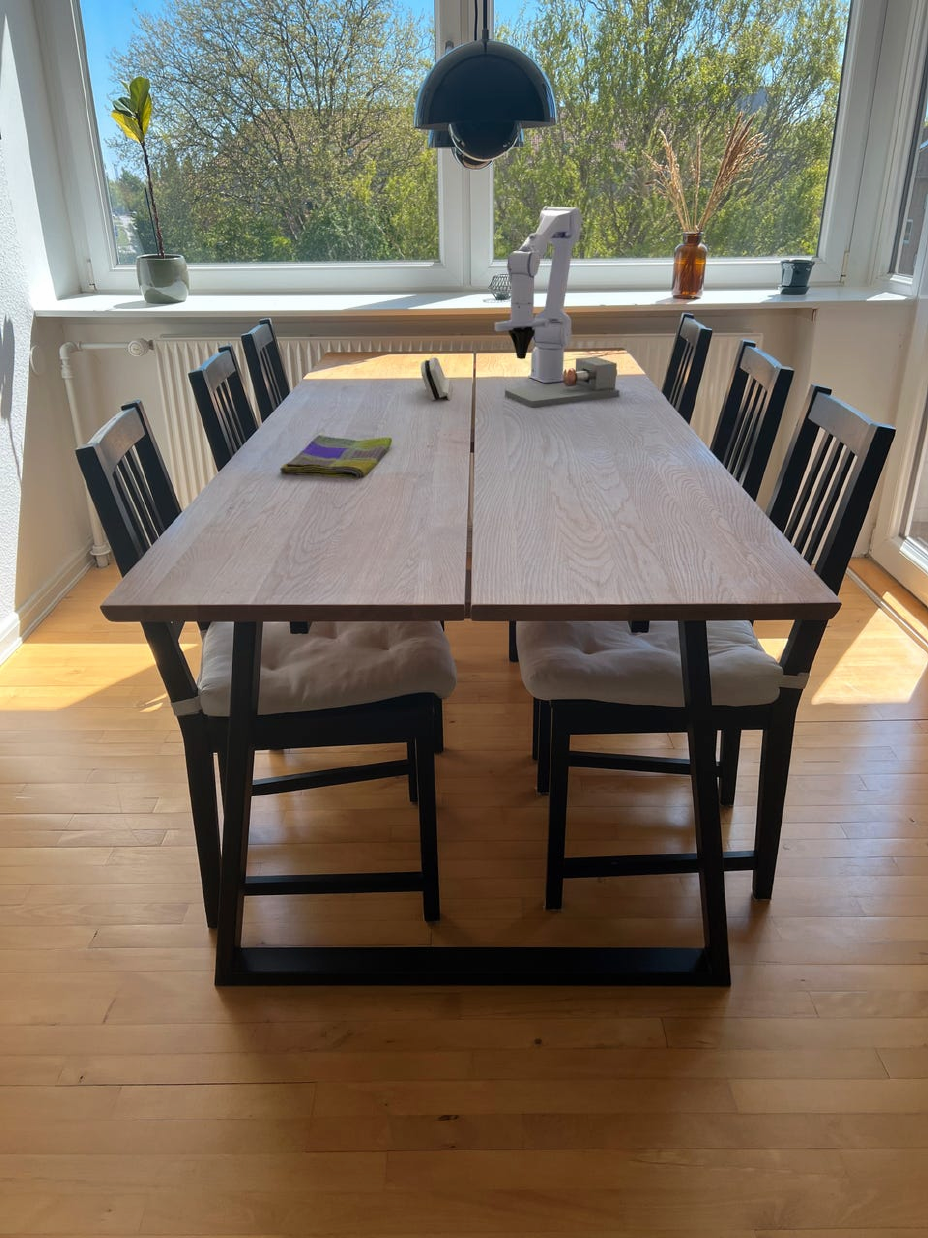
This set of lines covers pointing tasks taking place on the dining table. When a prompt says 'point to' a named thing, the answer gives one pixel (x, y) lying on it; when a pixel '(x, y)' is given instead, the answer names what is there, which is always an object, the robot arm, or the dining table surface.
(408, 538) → the dining table surface
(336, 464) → the dish towel
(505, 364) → the dining table surface
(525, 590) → the dining table surface
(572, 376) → the shaft
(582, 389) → the base plate
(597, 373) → the bearing block
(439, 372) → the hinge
